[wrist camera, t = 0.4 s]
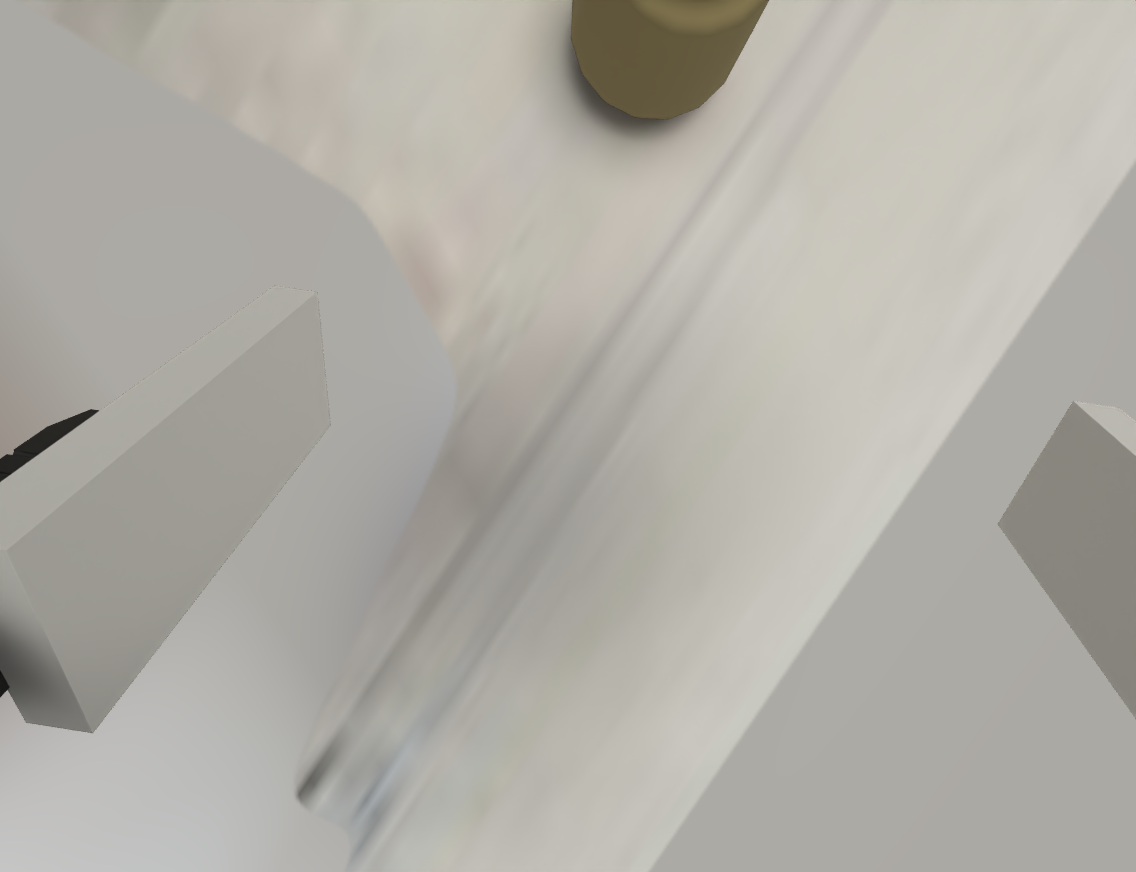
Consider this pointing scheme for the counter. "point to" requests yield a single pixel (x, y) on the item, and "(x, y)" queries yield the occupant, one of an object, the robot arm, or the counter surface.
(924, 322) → the counter surface
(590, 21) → the squeeze bottle
